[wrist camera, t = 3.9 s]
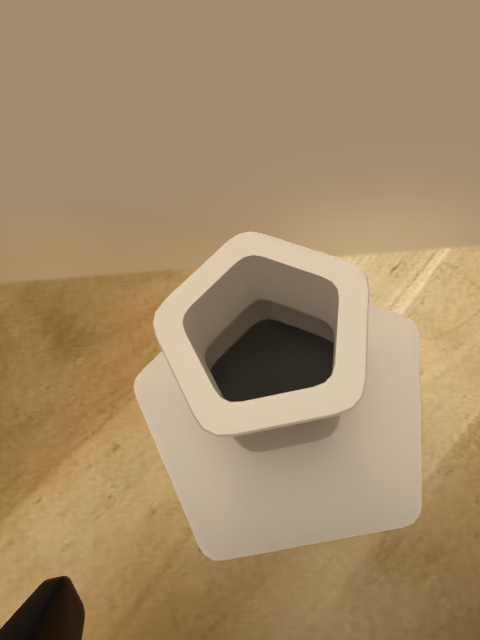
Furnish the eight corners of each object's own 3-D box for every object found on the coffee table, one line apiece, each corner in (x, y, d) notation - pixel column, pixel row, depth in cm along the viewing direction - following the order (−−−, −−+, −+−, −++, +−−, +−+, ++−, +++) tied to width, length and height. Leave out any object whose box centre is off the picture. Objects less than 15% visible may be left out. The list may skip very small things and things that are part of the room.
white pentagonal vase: (249, 412, 19) (98, 145, 6) (353, 424, 18) (473, 144, 5) (233, 528, 17) (-47, 548, 4) (348, 547, 16) (518, 662, 3)
